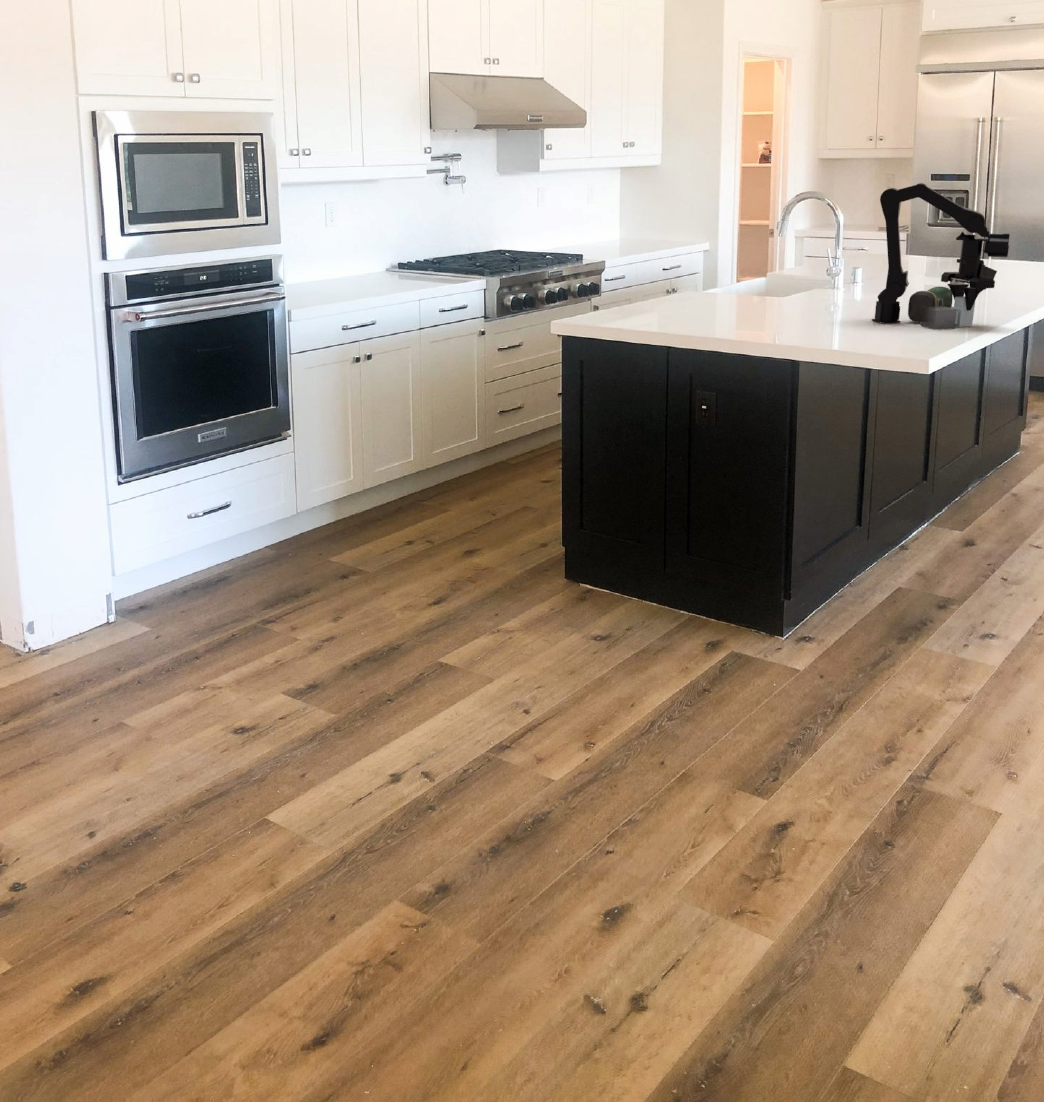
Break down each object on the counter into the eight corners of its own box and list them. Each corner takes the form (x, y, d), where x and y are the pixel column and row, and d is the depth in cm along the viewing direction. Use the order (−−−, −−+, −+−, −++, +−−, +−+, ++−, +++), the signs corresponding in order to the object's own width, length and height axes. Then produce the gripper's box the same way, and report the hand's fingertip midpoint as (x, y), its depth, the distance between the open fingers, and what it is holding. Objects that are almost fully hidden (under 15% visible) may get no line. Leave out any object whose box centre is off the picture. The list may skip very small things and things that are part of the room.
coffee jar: (929, 285, 381) (907, 290, 368) (954, 287, 377) (932, 292, 363) (926, 316, 384) (904, 322, 371) (951, 318, 380) (929, 325, 366)
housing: (934, 329, 358) (936, 310, 356) (920, 325, 365) (922, 307, 363) (954, 328, 360) (956, 309, 358) (940, 325, 366) (943, 306, 364)
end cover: (941, 327, 359) (944, 299, 357) (930, 324, 365) (933, 297, 362) (973, 326, 362) (976, 298, 360) (962, 323, 367) (965, 296, 365)
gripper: (1014, 258, 351) (1006, 313, 356) (975, 252, 368) (968, 304, 373) (980, 259, 348) (973, 314, 353) (943, 253, 365) (936, 305, 370)
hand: (963, 309), depth 363 cm, fingers closed on end cover, 4 cm apart
